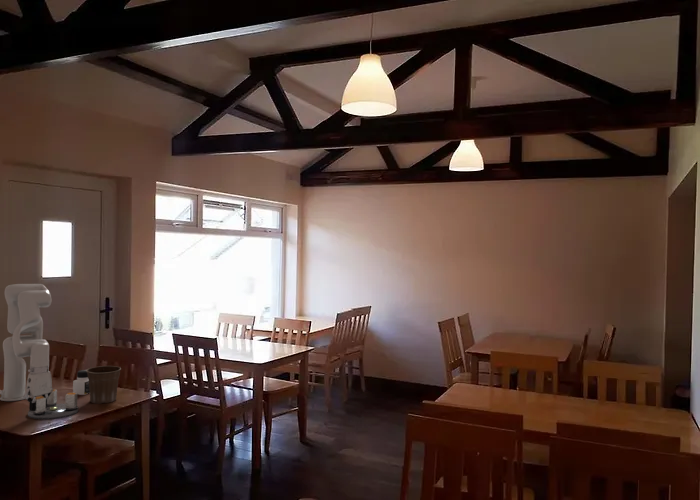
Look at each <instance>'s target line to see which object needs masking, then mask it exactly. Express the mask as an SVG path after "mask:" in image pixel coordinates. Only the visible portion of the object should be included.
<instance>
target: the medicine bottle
mask: <svg viewBox="0 0 700 500" xmlns="http://www.w3.org/2000/svg"><path fill="white" fill-rule="evenodd" d="M86 370H87V369H81V370H78V371H77V373H76V379H75V380H73V381H72V383H73V384H72V393H78V395H79V396H80V395H81V396H85V395H88V393H89V394H90V389H89V379H88V374H87V372H86Z"/></svg>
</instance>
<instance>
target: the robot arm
mask: <svg viewBox="0 0 700 500" xmlns="http://www.w3.org/2000/svg"><path fill="white" fill-rule="evenodd" d="M4 298H5V301H6V304H7V323H6V325H7V332H8V333H10V334H11V335H12V336H8V337H6V338H5V339H4V340H3V342H2V351H3V358H4V361H3V362H4V365H3V366H4V369H3V372H4V373H3V389H2V390H1V389H0V401H2V402H3V401H4V402H17V401H22V400H26V401H27V402H28V403H29V407H28V409H29V410H30V411H36V403H35V399H36V397H40V396H43V397H45V398H46V408H47V399H48V398H49V396H50V394H51V393H52V392H53V390H54V388H53V383H52V381H53V380H52V374H51V371H49V368H50V344H49V342H48V341H47V340H46V339H43V334H44V333H43V332H44V321H43V317H42V316H41V309H40V308H49V307H50V306H51V304H52V302H53V300H52V295H51V292H50V290H49V289H48V288H47V287H46V286H45V285H44V284H43V283H16V284H9V285H7V286H6V287H5V289H4ZM21 334H26V335H21ZM28 334H29V335H28ZM26 357H27V358H28V357H30V359H29V360H30V362H29V368H28V370H27V363H26V362H27V361H25V359H24V358H26ZM27 372H28V375H27ZM26 377H27V380H26ZM29 410H28V411H29Z"/></svg>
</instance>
